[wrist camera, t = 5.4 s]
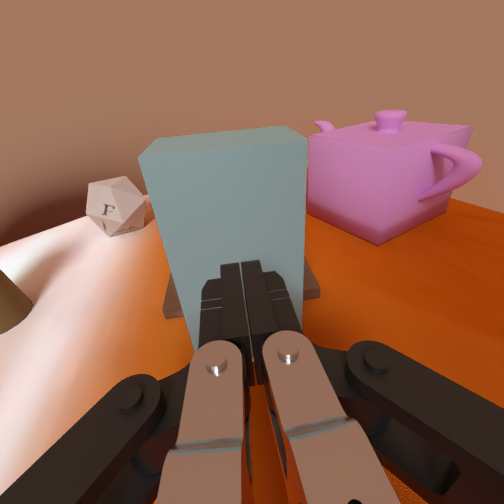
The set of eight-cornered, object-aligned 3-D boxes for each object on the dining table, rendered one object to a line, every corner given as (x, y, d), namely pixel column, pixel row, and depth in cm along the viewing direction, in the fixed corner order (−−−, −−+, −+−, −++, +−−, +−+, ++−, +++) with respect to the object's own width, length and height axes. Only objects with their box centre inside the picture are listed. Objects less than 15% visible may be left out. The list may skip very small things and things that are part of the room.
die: (86, 238, 43) (63, 204, 35) (108, 195, 47) (92, 155, 39) (139, 251, 44) (129, 221, 36) (156, 208, 48) (151, 172, 40)
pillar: (286, 309, 26) (284, 125, 17) (301, 354, 22) (307, 139, 13) (202, 321, 25) (156, 138, 17) (199, 369, 21) (137, 157, 13)
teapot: (339, 181, 55) (347, 102, 47) (483, 224, 37) (533, 105, 29) (279, 201, 49) (277, 113, 41) (416, 264, 30) (457, 127, 23)
